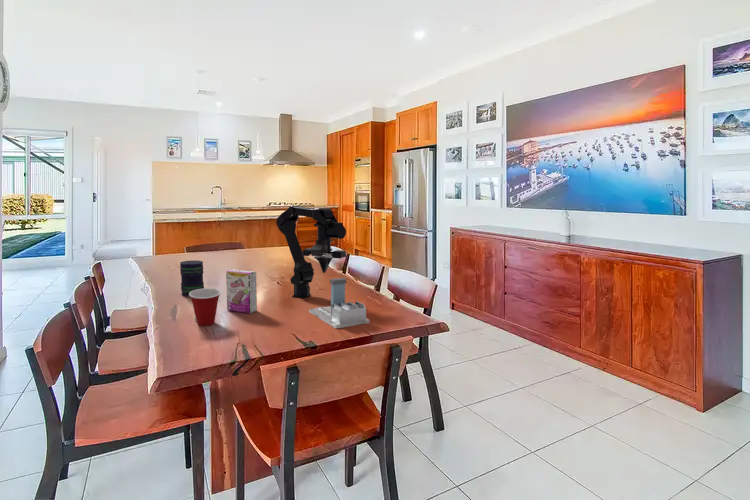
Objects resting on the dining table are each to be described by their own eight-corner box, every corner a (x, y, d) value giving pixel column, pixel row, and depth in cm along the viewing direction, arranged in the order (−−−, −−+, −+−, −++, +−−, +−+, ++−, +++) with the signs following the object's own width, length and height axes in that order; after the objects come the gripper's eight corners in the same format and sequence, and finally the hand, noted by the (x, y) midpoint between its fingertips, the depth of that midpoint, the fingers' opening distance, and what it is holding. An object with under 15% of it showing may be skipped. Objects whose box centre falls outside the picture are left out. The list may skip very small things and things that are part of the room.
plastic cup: (191, 330, 152) (190, 296, 150) (188, 321, 161) (187, 289, 159) (224, 326, 157) (223, 293, 155) (219, 318, 166) (218, 287, 164)
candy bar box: (226, 311, 175) (225, 271, 173) (234, 307, 180) (233, 268, 178) (250, 314, 172) (249, 273, 169) (257, 310, 176) (256, 271, 174)
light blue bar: (329, 313, 170) (329, 279, 168) (342, 311, 172) (342, 277, 171) (338, 318, 163) (338, 282, 161) (351, 316, 166) (352, 281, 164)
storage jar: (208, 293, 203) (207, 261, 201) (190, 297, 195) (188, 264, 193) (195, 290, 208) (194, 259, 206) (176, 294, 200) (175, 262, 198)
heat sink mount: (309, 312, 176) (309, 294, 175) (340, 307, 183) (340, 290, 182) (335, 328, 156) (335, 308, 155) (369, 323, 163) (369, 303, 162)
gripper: (295, 237, 184) (296, 274, 187) (335, 240, 178) (335, 277, 180) (308, 235, 195) (309, 269, 197) (346, 237, 188) (346, 273, 190)
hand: (324, 272), depth 191 cm, fingers closed
